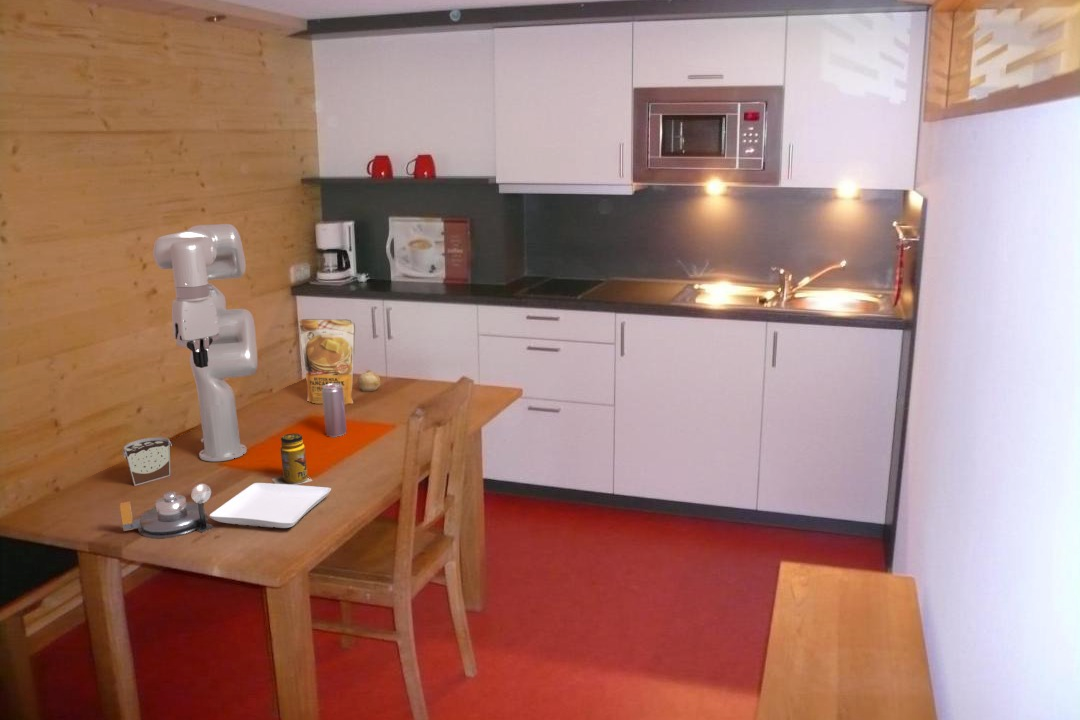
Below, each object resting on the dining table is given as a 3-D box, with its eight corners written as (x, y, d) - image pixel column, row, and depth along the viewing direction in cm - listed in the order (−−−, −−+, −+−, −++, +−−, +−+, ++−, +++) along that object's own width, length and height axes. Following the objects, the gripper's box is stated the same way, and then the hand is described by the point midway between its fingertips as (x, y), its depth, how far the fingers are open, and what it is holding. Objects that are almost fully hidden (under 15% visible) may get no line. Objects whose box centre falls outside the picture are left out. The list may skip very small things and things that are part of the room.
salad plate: (334, 498, 224) (332, 485, 224) (293, 535, 204) (292, 521, 204) (255, 493, 229) (254, 481, 228) (208, 529, 209) (206, 515, 208)
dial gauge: (191, 530, 208) (185, 485, 205) (209, 523, 211) (203, 479, 208) (198, 533, 206) (192, 488, 203) (216, 527, 209) (210, 482, 207)
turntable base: (126, 527, 211) (126, 525, 211) (187, 506, 222) (187, 504, 222) (158, 544, 201) (158, 542, 201) (220, 521, 212) (220, 519, 212)
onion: (385, 389, 318) (384, 369, 316) (367, 394, 312) (365, 374, 311) (372, 385, 323) (370, 366, 322) (353, 390, 318) (351, 371, 316)
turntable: (122, 541, 201) (118, 516, 200) (125, 518, 214) (121, 493, 213) (206, 527, 207) (203, 502, 206) (204, 505, 220) (201, 481, 219)
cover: (157, 524, 206) (154, 501, 204) (157, 513, 211) (154, 491, 210) (188, 519, 208) (185, 496, 207) (187, 508, 214) (184, 486, 212)
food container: (166, 468, 247) (161, 433, 245) (175, 474, 243) (171, 438, 241) (119, 481, 239) (114, 445, 237) (128, 487, 235) (123, 450, 232)
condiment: (313, 481, 236) (308, 437, 233) (280, 488, 231) (275, 443, 228) (303, 473, 242) (299, 429, 239) (271, 480, 237) (266, 436, 234)
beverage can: (327, 431, 274) (323, 383, 271) (347, 430, 275) (343, 382, 271) (324, 438, 268) (320, 389, 265) (345, 437, 269) (341, 388, 265)
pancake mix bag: (309, 398, 310) (302, 317, 303) (362, 400, 306) (355, 318, 299) (300, 403, 304) (292, 321, 297) (353, 406, 299) (346, 322, 293)
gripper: (212, 286, 228) (221, 358, 232) (155, 296, 217) (165, 370, 221) (228, 289, 223) (237, 362, 228) (171, 299, 212) (180, 375, 217)
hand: (201, 366), depth 224 cm, fingers closed
